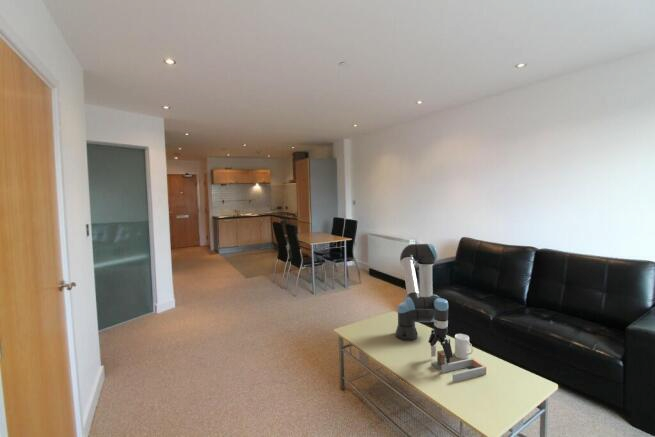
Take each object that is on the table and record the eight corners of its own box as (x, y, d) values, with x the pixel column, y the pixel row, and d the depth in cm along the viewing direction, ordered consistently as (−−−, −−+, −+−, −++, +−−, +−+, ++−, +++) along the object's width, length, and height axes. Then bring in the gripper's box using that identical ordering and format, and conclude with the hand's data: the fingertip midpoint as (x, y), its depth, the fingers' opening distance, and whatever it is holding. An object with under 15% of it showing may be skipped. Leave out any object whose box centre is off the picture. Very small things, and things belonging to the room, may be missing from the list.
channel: (441, 371, 177) (441, 364, 177) (472, 364, 183) (472, 357, 183) (454, 382, 167) (454, 374, 167) (486, 374, 173) (486, 367, 173)
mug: (477, 359, 188) (477, 340, 187) (465, 363, 185) (465, 343, 184) (462, 351, 199) (462, 332, 198) (451, 353, 196) (451, 335, 195)
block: (437, 362, 185) (437, 351, 185) (444, 361, 186) (444, 349, 186) (442, 367, 180) (442, 355, 180) (450, 365, 182) (450, 354, 181)
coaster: (431, 363, 186) (431, 362, 186) (442, 360, 188) (442, 359, 188) (439, 370, 178) (439, 369, 178) (451, 367, 181) (451, 366, 180)
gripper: (422, 318, 192) (422, 352, 195) (449, 336, 169) (448, 374, 172) (433, 316, 194) (432, 350, 197) (460, 334, 172) (459, 371, 174)
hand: (439, 361), depth 184 cm, fingers open, 12 cm apart
